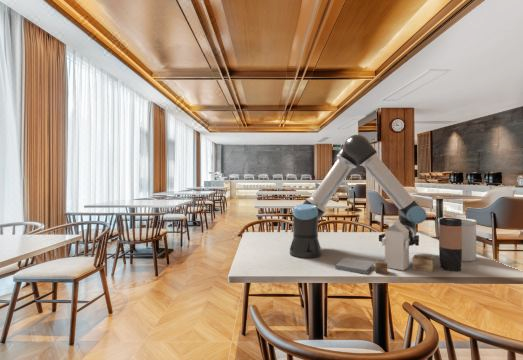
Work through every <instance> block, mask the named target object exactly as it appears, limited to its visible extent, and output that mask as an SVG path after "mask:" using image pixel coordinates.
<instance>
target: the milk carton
mask: <svg viewBox="0 0 523 360" xmlns="http://www.w3.org/2000/svg"><path fill="white" fill-rule="evenodd" d="M384 233H385V245H384V261H386V262H387V269H388V268H389V269H393V270H394V269H395V270H399V271H405V270H406V269H408V268H409V266H410V265H409V264H410V260H409V259H410V247H409V248H408V249H407V248H405V241H406V240H407V239H409V230H408V229H407V228H406V227H404V226H403V225H402V224H401V223H400V220H399V219H398V220H394V221H393V222H391V223H389V224H388V228H386V229H385V231H384Z"/></svg>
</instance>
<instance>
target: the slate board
mask: <svg viewBox="0 0 523 360" xmlns="http://www.w3.org/2000/svg"><path fill="white" fill-rule="evenodd" d="M334 266H335V267H334V268H335V269H336V270H341V271H346V272H350V273H352V272H353V273H356V274H363V275H367V274H368V273H369V272H370V271H371V270H372V269H373V268H375V262H372V261H364V260H358V259H352V258H343V259H342V260H341V261H339V262H338V263H336V264H335V265H334Z"/></svg>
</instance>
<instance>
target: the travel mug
mask: <svg viewBox="0 0 523 360" xmlns="http://www.w3.org/2000/svg"><path fill="white" fill-rule="evenodd" d="M440 218H442V219H440ZM457 218H458V217H439V218H438V219H439V222H438V241H439V242H438V253H439V255H438V257H439V268H440V269H442V270H444V271H449V272H461V271H462V262H463V261H462V220H461V219H457Z"/></svg>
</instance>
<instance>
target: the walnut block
mask: <svg viewBox="0 0 523 360" xmlns="http://www.w3.org/2000/svg"><path fill="white" fill-rule="evenodd" d="M374 271H375V273H376V274H380V275H388V267H387V262H386V261H385V260H379V259H378V260H377V259H375V260H374Z"/></svg>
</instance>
